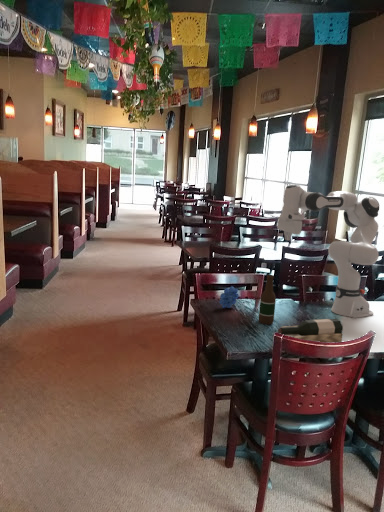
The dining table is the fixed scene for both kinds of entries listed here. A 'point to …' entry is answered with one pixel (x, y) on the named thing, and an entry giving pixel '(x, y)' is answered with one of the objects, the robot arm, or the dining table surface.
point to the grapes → (229, 297)
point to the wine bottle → (314, 327)
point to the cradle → (319, 337)
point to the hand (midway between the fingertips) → (287, 239)
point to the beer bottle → (267, 303)
